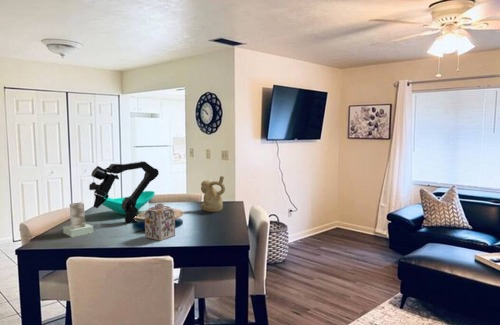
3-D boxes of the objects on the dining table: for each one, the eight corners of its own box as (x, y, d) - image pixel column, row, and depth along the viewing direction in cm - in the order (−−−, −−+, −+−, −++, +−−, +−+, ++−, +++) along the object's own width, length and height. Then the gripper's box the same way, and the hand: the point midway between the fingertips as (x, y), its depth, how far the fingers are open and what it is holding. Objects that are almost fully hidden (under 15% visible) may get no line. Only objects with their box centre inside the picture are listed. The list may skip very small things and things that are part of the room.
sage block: (85, 229, 217) (84, 222, 217) (93, 233, 209) (93, 226, 208) (63, 233, 208) (63, 226, 208) (71, 237, 200) (71, 230, 200)
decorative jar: (160, 232, 207) (159, 201, 206) (175, 235, 202) (175, 203, 200) (144, 238, 197) (143, 205, 196) (160, 241, 191) (159, 207, 190)
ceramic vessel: (207, 207, 275) (206, 173, 273) (230, 209, 267) (230, 175, 265) (194, 211, 260) (194, 176, 257) (219, 214, 252) (218, 177, 249)
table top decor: (103, 221, 233) (103, 201, 232) (92, 214, 255) (91, 195, 254) (162, 212, 257) (161, 194, 256) (146, 206, 279) (146, 189, 278)
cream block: (82, 224, 213) (80, 202, 212) (85, 226, 208) (83, 203, 207) (71, 226, 209) (69, 203, 208) (74, 228, 204) (72, 205, 203)
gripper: (96, 179, 227) (84, 203, 223) (92, 175, 209) (79, 201, 205) (113, 187, 229) (102, 210, 225) (110, 183, 211) (98, 208, 207)
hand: (95, 207), depth 216 cm, fingers open, 9 cm apart
